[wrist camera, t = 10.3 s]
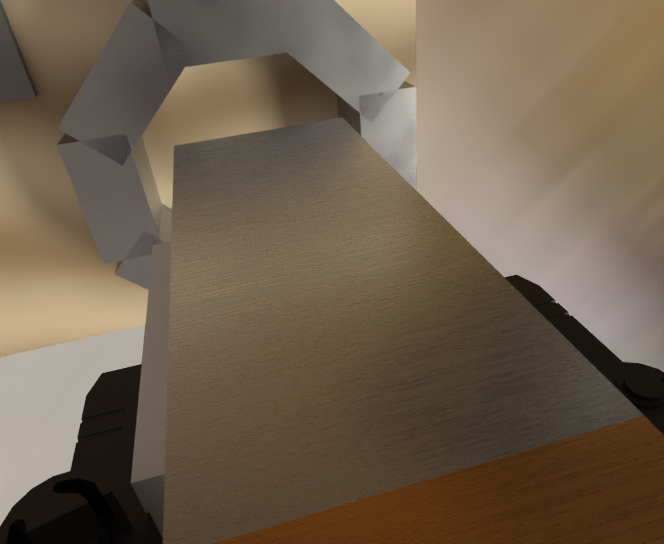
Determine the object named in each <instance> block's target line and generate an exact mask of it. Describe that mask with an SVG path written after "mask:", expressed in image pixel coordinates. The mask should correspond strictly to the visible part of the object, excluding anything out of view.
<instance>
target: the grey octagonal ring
mask: <svg viewBox="0 0 664 544" xmlns="http://www.w3.org/2000/svg"><path fill="white" fill-rule="evenodd" d="M148 4H149V5H148ZM148 4H147V3H145V2H144V1H143V0H132V1H131V2H130V3H129V5H128V6H127V8H126V10H125V12H124V13H123V15H122V17H121V19H120V20H119V22H118V24H117V26H116V27H115V29H114V31H113V33H112V34H111V36H110V38H109V40H108V41H107V43H106V45H105V47H104V48H103V50H102V52H101V53H100V55H99V57H98V59H97V60H96V62H95V64H94V66H93V67H92V69H91V71H90V73H89V74H88V76H87V78H86V80H85V81H84V83H83V85H82V87H81V88H80V90H79V92H78V94H77V95H76V97H75V99H74V100H73V102H72V104H71V106H70V107H69V109H68V111H67V113H66V114H65V116H64V118H63V120H62V121H61V123H60V125H59V127H58V129H59V130H61V131H63V132H65V134H64V135H63V137H62V138H61V140H60V141H59V142H58V144H57V147H58V150H59V152H60V155H61V157H62V160H63V162H64V165H65V167H66V170H67V172H68V175H69V177H70V180H71V182H72V185H73V187H74V190H75V192H76V195H77V197H78V200H79V202H80V205H81V207H82V210H83V212H84V215H85V217H86V220H87V222H88V225H89V227H90V230H91V232H92V235H93V237H94V240H95V242H96V245H97V247H98V250H99V252H100V255H101V257H102V260H103V263H104V264H107V263H112V262H117V265H116V269H115V275H117V276H119V277H121V278H124V279H126V280H128V281H130V282H132V283H134V284H137V285H139V286H141V287H143V288H145V289H148V290H149V281H150V270H151V259H152V248H153V245H156V244H161V243H166V242H171V237H172V209H171V208H169V207H167V206H166V205H164V204H162V202H161V198H160V195H159V192H158V188H157V185H156V182H155V178H154V175H153V172H152V169H151V165H150V162H149V159H148V155H147V152H146V149H145V145H144V142H143V139H142V134H143V133H144V131H145V130H146V128H147V127H148V125H149V123H150V122H151V120H152V119H153V117H154V115H155V114H156V112H157V111H158V109H159V108H160V106H161V104H162V103H163V101H164V100H165V98H166V96H167V95H168V93H169V92H170V90H171V89H172V87H173V85H174V84H175V82H176V81H177V79H178V77H179V76H180V74H181V73H182V71H183V70H184V68H185V67H190V66H197V65H204V64H211V63H218V62H225V61H232V60H239V59H245V58H252V57H259V56H266V55H273V54H280V53H288V54H289V55H290V56H291V57H292V58H294V59H295V60H296V61H297V62H298V63H300V64H301V65H302V66H303V67H304V68H306V69H307V70H308V71H309V72H310V73H312V74H313V75H314V76H315V77H316V78H318V79H319V80H320V81H321V82H322V83H324V84H325V85H326V86H327V87H329V88H330V89H331V90H332V91H333V92H335V93H336V95H337V106H338V118H343V119H344V120H345V121H346V122H347V123H348V124H349V125H350V126H351V127H352V128H353V129H354V130H355V131H356V132H357V133H358V134H359V135H361V136H362V137H363V138H364V139H365V140H366V141H367V142H368V143H369V144H370V145H371V146H372V147H373V148H374V149H375V150H376V151H377V152H378V153H379V154H380V155H381V156H382V157H383V158H384V159H385V160H386V161H387V162H388V163H389V164H390V165H391V166H392V167H393V168H394V169H395V170H396V171H397V172H398V173H399V174H400V175H401V176H402V177H403V178H404V179H405V180H406V181H407V182H408V183H409V184H410V185H411V186H412V187H413V188H414V189H415V190H416V191H417V180H416V86H414V85H412V84H410V83H408V82H406V81H405V79H406V78H407V77H408V75H409V74H410V72H409V71H408V70H407V69H406V68H405V67H404V66H403V65H402V64H401V63H400V62H399V61H398V60H396V59H395V58H394V57H393V56H392V55H391V54H390V53H389V52H388V51H387V50H386V49H385V48H384V47H383V46H382V45H381V44H380V43H379V42H378V41H377V40H376V39H374V38H373V37H372V36H371V35H370V34H369V33H368V32H367V31H366V30H365V29H364V28H363V27H362V26H361V25H360V24H359V23H358V22H357V21H356V20H355V19H353V18H352V17H351V16H350V15H349V14H348V13H347V12H346V11H345V10H344V9H343V8H342V7H341V6H340V5H339V4H338V3H337V2H336V1H335V0H148Z"/></svg>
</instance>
